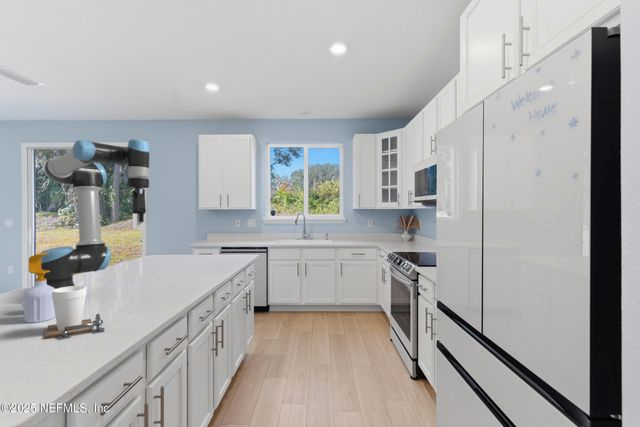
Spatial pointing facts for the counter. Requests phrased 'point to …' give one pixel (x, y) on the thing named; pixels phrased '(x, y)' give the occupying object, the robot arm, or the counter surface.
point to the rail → (95, 323)
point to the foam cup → (69, 305)
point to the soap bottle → (38, 295)
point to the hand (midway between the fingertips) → (138, 229)
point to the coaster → (54, 332)
